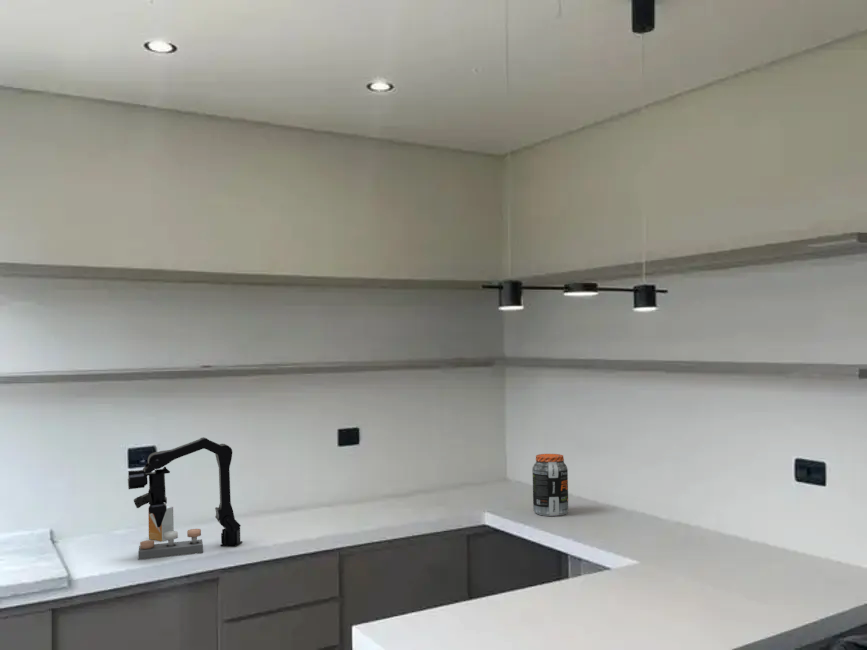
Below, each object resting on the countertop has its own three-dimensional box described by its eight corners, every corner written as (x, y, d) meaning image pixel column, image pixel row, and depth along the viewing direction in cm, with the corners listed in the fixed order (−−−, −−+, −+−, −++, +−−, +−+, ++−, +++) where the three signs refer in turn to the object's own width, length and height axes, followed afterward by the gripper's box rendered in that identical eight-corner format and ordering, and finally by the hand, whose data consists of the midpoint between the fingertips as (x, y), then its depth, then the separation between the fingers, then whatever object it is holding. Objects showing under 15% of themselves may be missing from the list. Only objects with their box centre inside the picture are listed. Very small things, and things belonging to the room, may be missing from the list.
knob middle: (177, 543, 293) (177, 530, 293) (178, 547, 288) (177, 533, 288) (164, 545, 291) (163, 531, 291) (164, 548, 286) (163, 534, 287)
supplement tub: (568, 517, 331) (567, 458, 332) (532, 516, 334) (530, 458, 335) (568, 509, 347) (567, 452, 348) (534, 508, 350) (532, 452, 350)
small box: (148, 539, 311) (147, 507, 312) (160, 536, 317) (160, 504, 317) (162, 541, 307) (161, 509, 308) (174, 538, 313) (173, 506, 313)
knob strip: (202, 546, 298) (202, 539, 298) (203, 552, 289) (202, 544, 289) (139, 553, 290) (139, 545, 290) (138, 559, 282) (138, 551, 282)
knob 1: (154, 553, 290) (154, 539, 290) (154, 556, 285) (154, 542, 285) (140, 554, 288) (140, 541, 288) (140, 557, 284) (139, 544, 284)
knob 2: (200, 541, 296) (200, 528, 296) (201, 544, 291) (201, 531, 291) (187, 542, 294) (187, 529, 294) (187, 545, 289) (187, 532, 289)
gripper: (135, 484, 295) (137, 524, 295) (133, 492, 277) (135, 535, 277) (166, 481, 298) (167, 520, 298) (165, 489, 281) (167, 531, 281)
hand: (158, 526), depth 288 cm, fingers closed
